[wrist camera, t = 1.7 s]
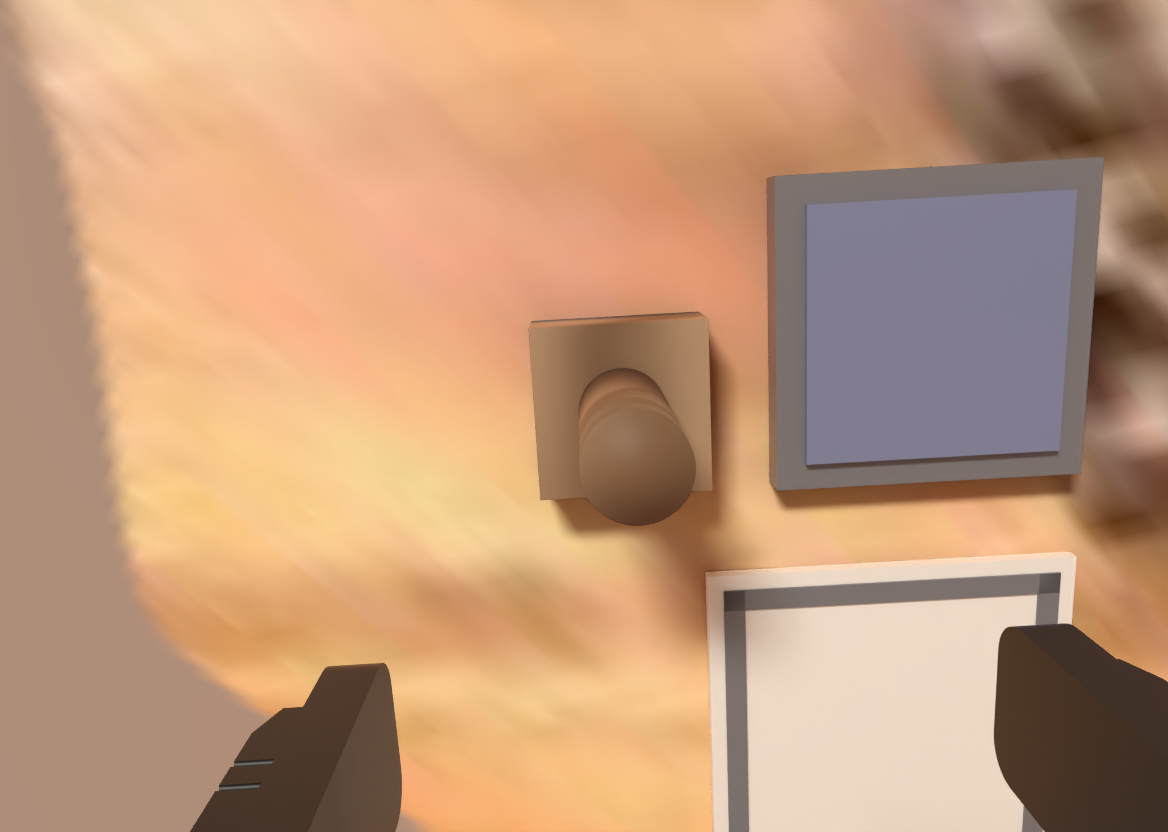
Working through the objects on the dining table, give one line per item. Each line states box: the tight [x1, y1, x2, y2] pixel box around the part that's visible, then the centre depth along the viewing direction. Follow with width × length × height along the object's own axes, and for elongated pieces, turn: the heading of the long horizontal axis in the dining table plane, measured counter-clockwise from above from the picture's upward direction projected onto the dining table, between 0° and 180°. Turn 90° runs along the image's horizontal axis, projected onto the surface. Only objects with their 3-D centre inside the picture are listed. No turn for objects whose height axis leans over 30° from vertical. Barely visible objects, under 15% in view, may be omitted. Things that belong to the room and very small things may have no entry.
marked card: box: [705, 551, 1077, 832], centre depth 34 cm, size 14×14×1 cm
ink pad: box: [767, 157, 1104, 491], centre depth 30 cm, size 11×11×2 cm
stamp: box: [529, 312, 712, 526], centre depth 26 cm, size 6×6×10 cm
